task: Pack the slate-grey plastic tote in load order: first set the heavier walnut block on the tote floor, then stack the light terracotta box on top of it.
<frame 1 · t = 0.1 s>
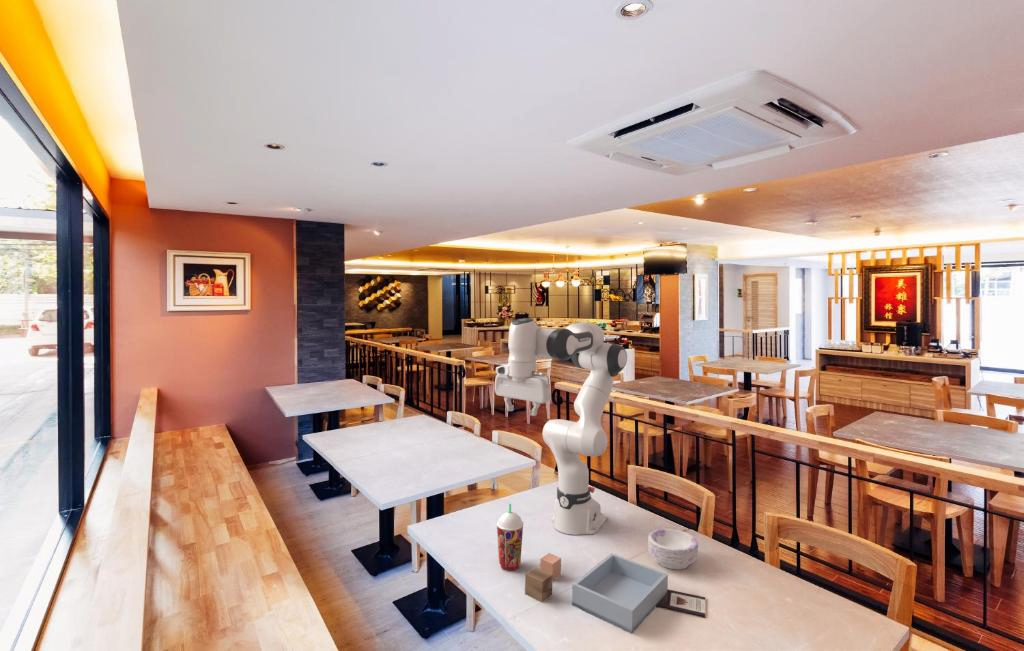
hand: (521, 413, 159), 48 cm above the table, fingers open, 8 cm apart
terracotta box: (550, 575, 153), on the table
chocolate bar: (670, 602, 141), on the table
smoothie: (509, 566, 158), on the table
paper bowls: (672, 562, 161), on the table
tote: (620, 599, 141), on the table
walnut block: (538, 594, 143), on the table
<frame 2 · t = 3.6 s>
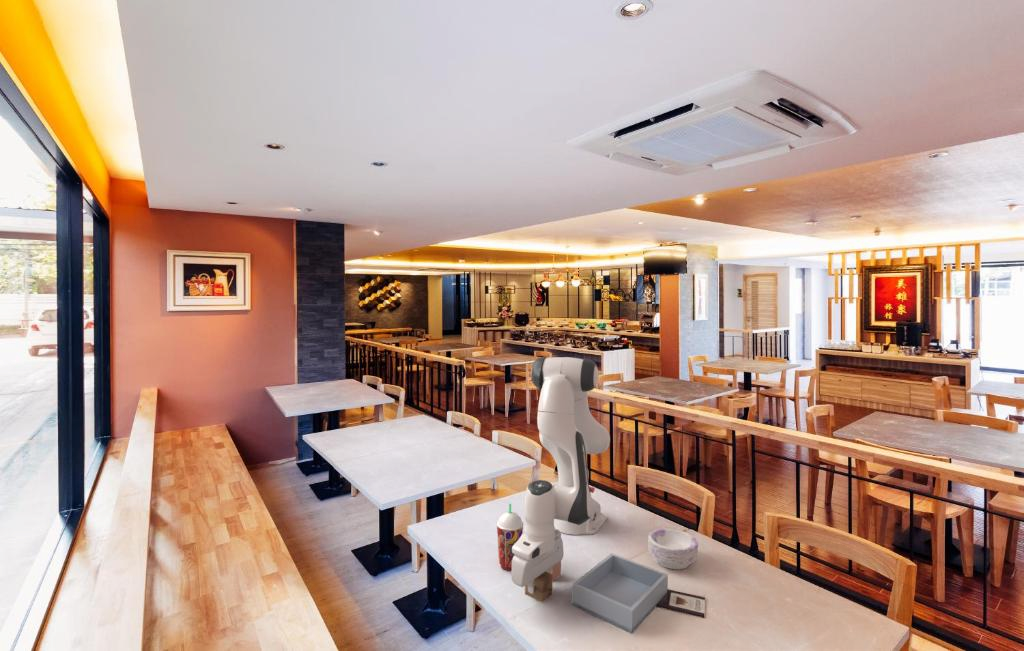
hand: (538, 587, 143), 2 cm above the table, fingers closed on walnut block, 5 cm apart
walnut block: (538, 594, 143), on the table, touching gripper
everything else where it was.
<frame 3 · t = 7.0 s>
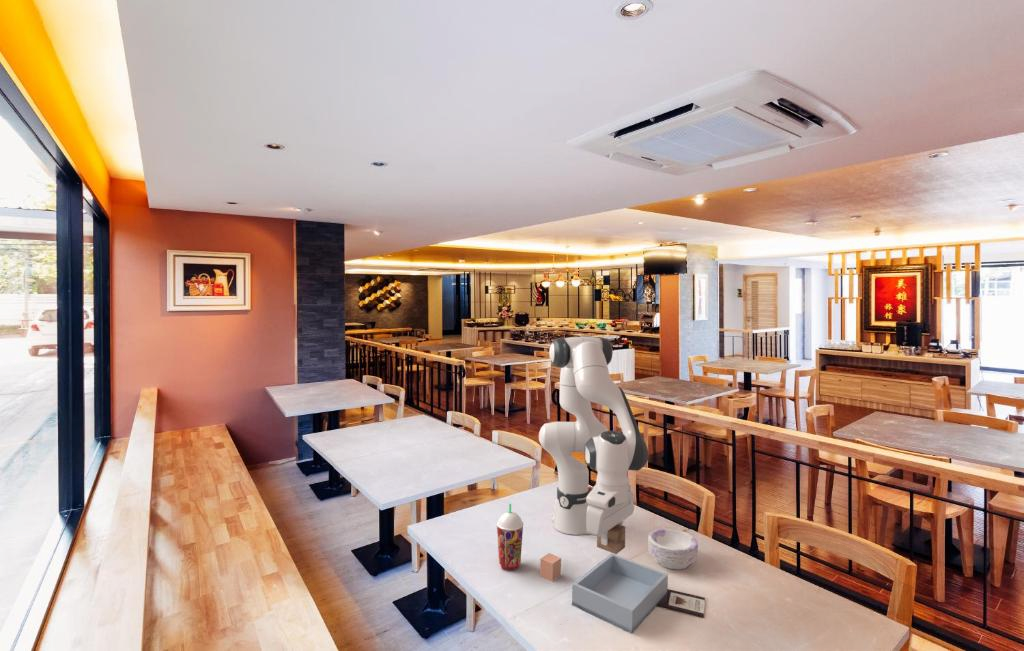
hand: (611, 539, 140), 17 cm above the table, fingers closed on walnut block, 5 cm apart
walnut block: (610, 547, 140), point 15 cm above the table, touching gripper
everything else where it was.
when the fingers open (4 cm above the table, at t = 10.1 s): walnut block drops 1 cm, resting on tote.
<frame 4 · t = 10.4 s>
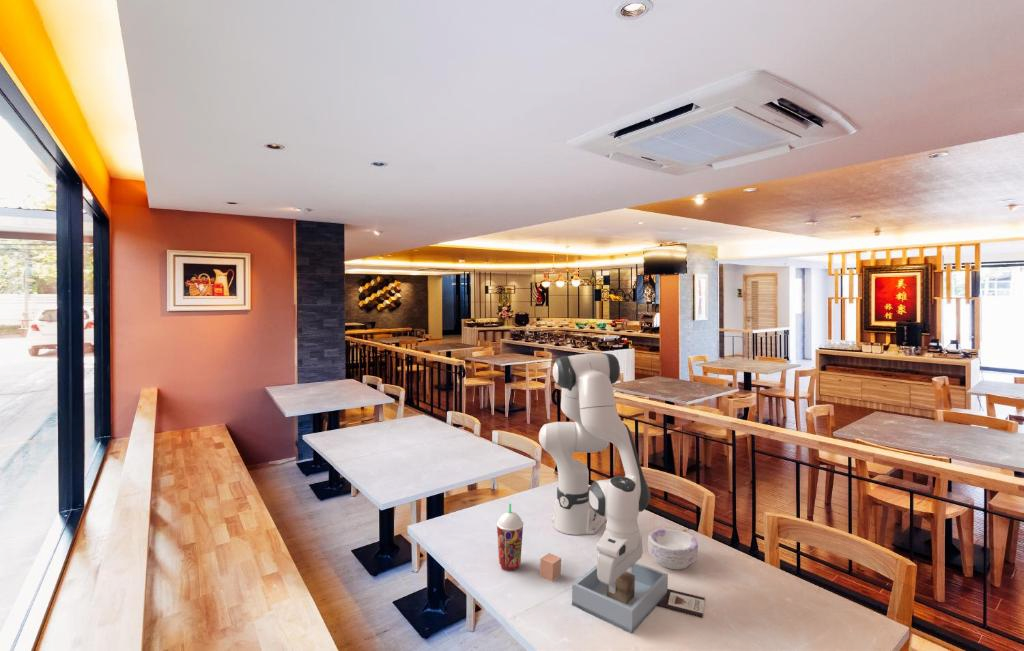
hand: (620, 584, 141), 4 cm above the table, fingers open, 7 cm apart
walnut block: (620, 596, 141), point 1 cm above the table, touching tote
everything else where it was.
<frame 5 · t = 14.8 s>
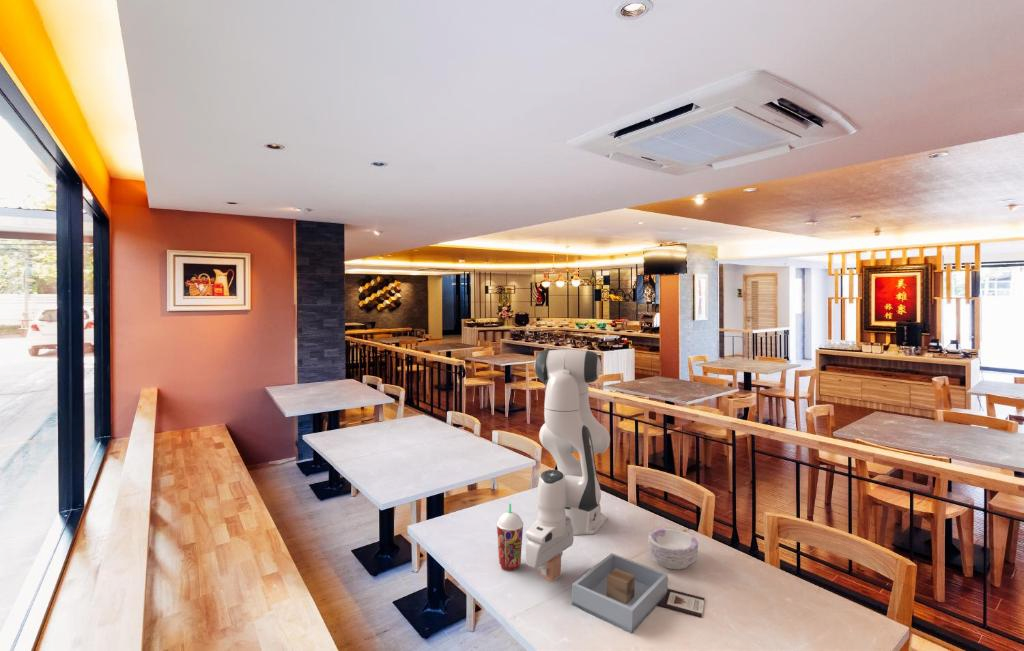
hand: (550, 569, 153), 2 cm above the table, fingers closed on terracotta box, 4 cm apart
terracotta box: (550, 575, 153), on the table, touching gripper
everything else where it was.
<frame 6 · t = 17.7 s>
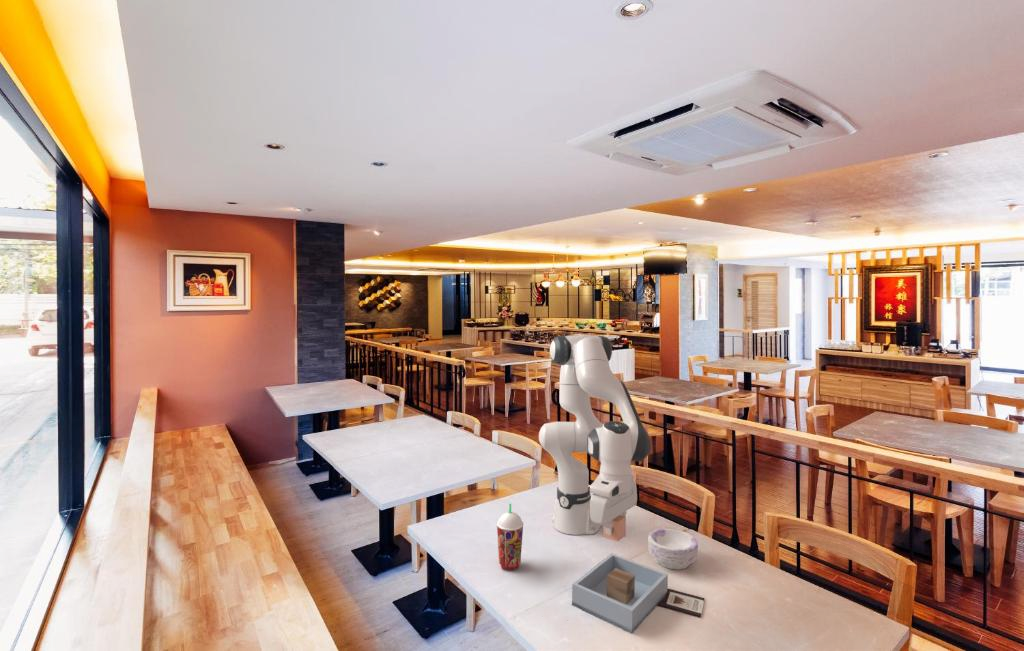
hand: (614, 529, 140), 20 cm above the table, fingers closed on terracotta box, 4 cm apart
terracotta box: (614, 536, 141), point 18 cm above the table, touching gripper
everything else where it was.
when the fingers open (10 cm above the table, at t = 20.5 s): terracotta box drops 1 cm, resting on walnut block.
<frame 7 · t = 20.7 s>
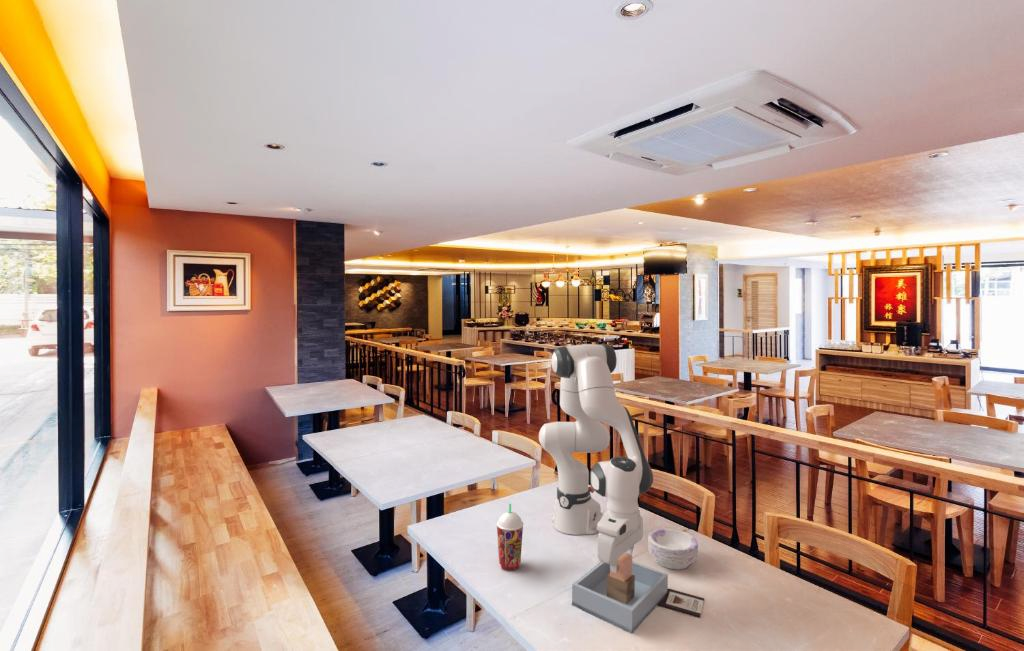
hand: (621, 565, 140), 10 cm above the table, fingers open, 6 cm apart
terracotta box: (620, 575, 141), point 7 cm above the table, touching walnut block
walnut block: (620, 596, 141), point 1 cm above the table, touching terracotta box, tote
everything else where it was.
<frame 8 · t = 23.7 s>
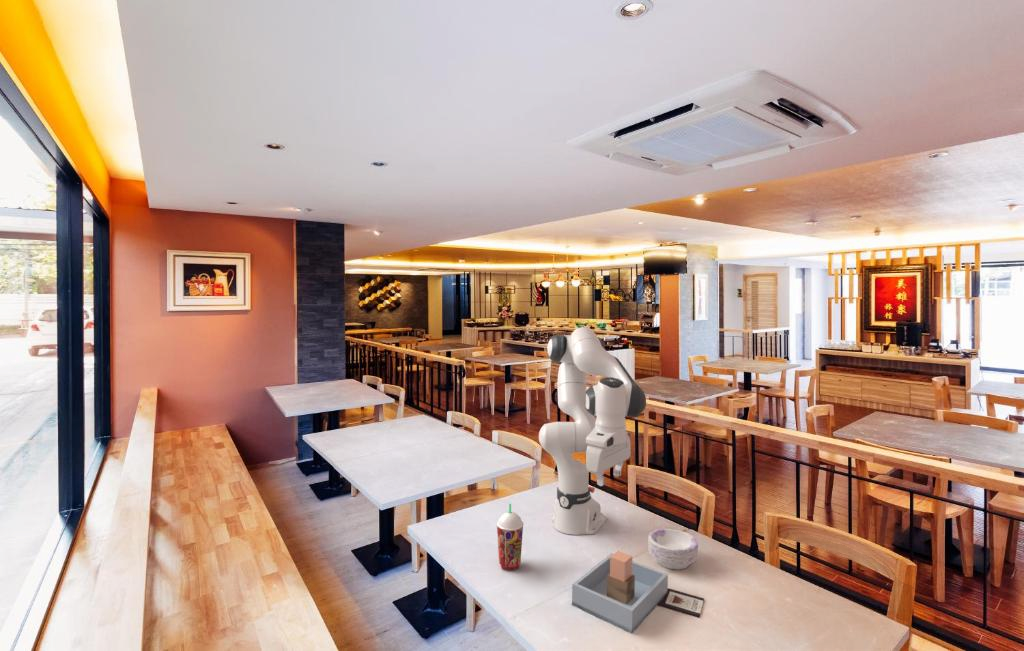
hand: (609, 480, 147), 31 cm above the table, fingers open, 8 cm apart
at the end: walnut block inside the target area on the tote (0.0 cm from its centre), point 1.0 cm above the tote's base; terracotta box 0.0 cm off-centre on the walnut block, point 6.0 cm above the walnut block's base; terracotta box tilted 0° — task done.
